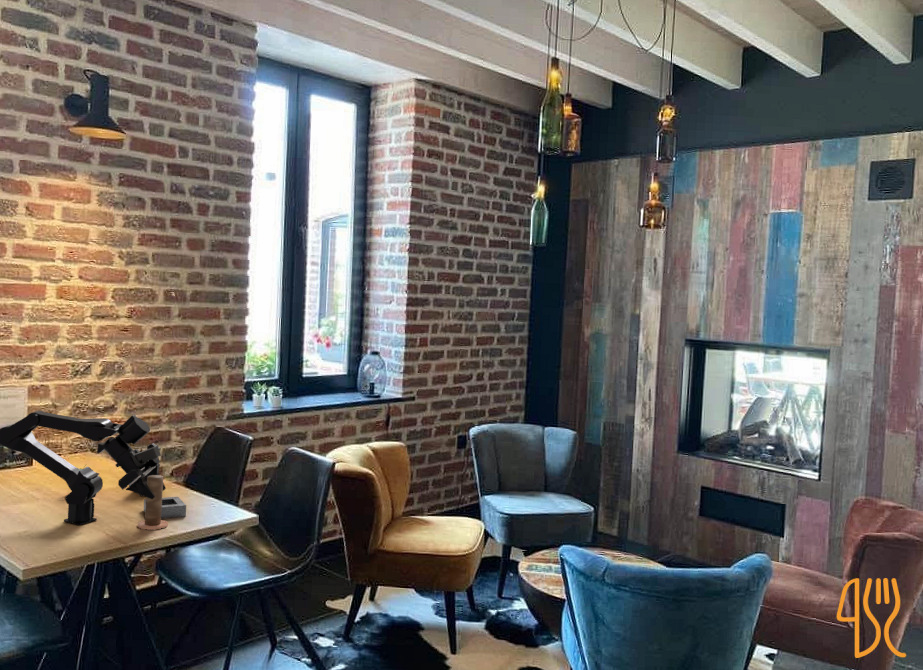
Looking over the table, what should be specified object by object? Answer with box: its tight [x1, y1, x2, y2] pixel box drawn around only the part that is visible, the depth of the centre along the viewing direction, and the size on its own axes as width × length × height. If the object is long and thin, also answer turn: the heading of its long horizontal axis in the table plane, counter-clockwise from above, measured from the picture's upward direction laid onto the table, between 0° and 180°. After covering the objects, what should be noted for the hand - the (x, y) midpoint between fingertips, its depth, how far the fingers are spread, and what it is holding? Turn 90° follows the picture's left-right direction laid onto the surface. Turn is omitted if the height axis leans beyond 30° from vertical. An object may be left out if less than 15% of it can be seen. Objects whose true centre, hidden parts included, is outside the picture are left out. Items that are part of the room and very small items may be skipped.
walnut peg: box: [144, 474, 164, 526], centre depth 232 cm, size 4×4×14 cm
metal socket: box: [143, 496, 187, 520], centre depth 245 cm, size 10×10×4 cm
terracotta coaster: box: [136, 519, 169, 531], centre depth 232 cm, size 8×8×1 cm
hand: (159, 493), depth 232 cm, fingers open, 9 cm apart
